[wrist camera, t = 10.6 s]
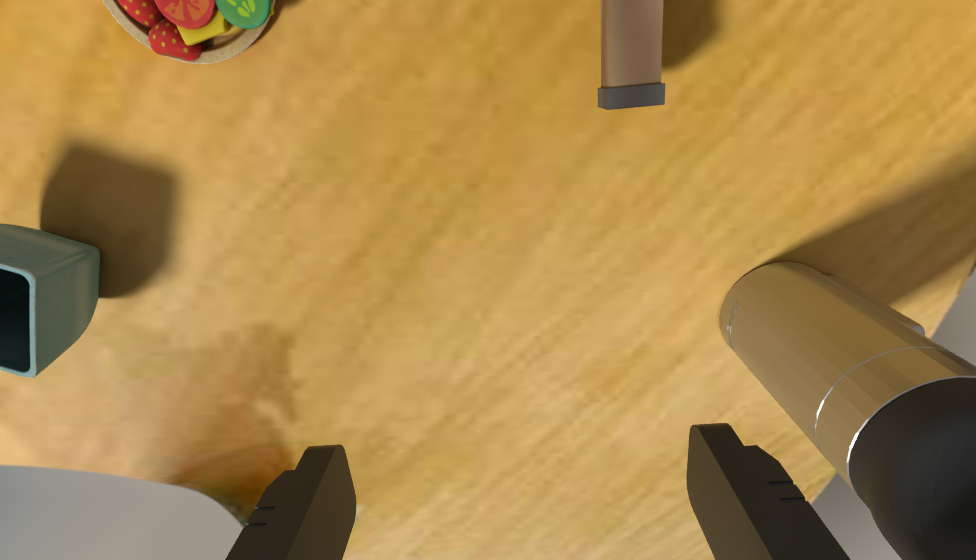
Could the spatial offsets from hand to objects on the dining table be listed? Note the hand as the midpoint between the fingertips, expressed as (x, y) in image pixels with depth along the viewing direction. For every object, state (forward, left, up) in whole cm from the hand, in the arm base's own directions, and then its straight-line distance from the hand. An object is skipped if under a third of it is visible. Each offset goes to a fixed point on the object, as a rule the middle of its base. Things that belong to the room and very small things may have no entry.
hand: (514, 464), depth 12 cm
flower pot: (+37, +3, -30) cm, 48 cm away
